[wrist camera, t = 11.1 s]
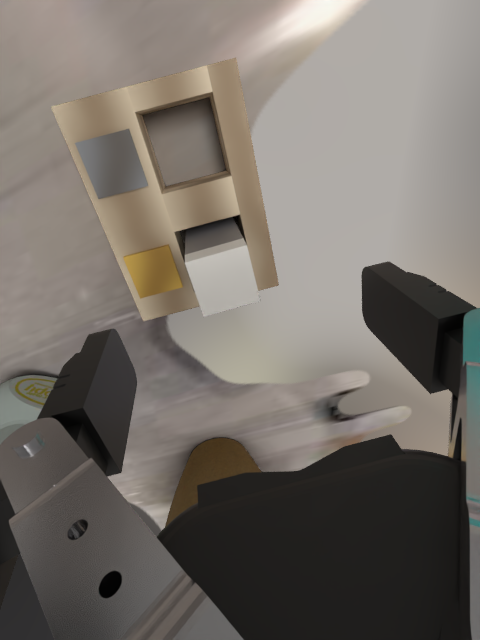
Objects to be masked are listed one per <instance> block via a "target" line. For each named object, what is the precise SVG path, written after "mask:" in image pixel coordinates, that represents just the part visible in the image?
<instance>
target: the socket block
mask: <svg viewBox="0 0 480 640" xmlns="http://www.w3.org/2000/svg"><path fill="white" fill-rule="evenodd" d="M208 97H210V102H211V106H212V110H213V115H214V119H215V123H216V128H217V132H218V136H219V141H220V145H221V149H222V154H223V158H224V163H225V167H226V171H223V172H219V173H215V174H212V175H208V176H204V177H200V178H197V179H193V180H189V181H185V182H181V183H178V184H174V185H170V186H166V187H165V184H164V181H163V178H162V175H161V172H160V169H159V166H158V163H157V159H156V156H155V153H154V150H153V147H152V144H151V141H150V138H149V134H148V131H147V128H146V125H145V122H144V119H143V116H142V115H144V114H148V113H152V112H155V111H159V110H163V109H167V108H171V107H174V106H178V105H182V104H186V103H189V102H193V101H197V100H201V99H205V98H208ZM51 108H52V111H53V113H54V115H55V118H56V120H57V122H58V125H59V127H60V129H61V132H62V134H63V136H64V139H65V141H66V143H67V146H68V148H69V150H70V153H71V155H72V157H73V159H74V162H75V164H76V166H77V169H78V171H79V173H80V176H81V178H82V180H83V183H84V185H85V187H86V190H87V192H88V194H89V197H90V199H91V201H92V204H93V206H94V208H95V210H96V213H97V215H98V217H99V220H100V222H101V224H102V227H103V229H104V231H105V234H106V236H107V238H108V241H109V243H110V245H111V248H112V250H113V252H114V255H115V257H116V259H117V261H118V264H119V266H120V268H121V271H122V273H123V275H124V278H125V280H126V282H127V285H128V287H129V289H130V292H131V294H132V296H133V299H134V301H135V303H136V306H137V308H138V310H139V313H140V315H141V317H142V319H143V321H146V320H150V319H154V318H158V317H162V316H165V315H169V314H173V313H176V312H180V311H184V310H188V309H192V308H195V307H199V306H200V305H199V303H198V300H197V297H196V294H195V291H194V288H193V285H192V283H191V280H190V277H189V274H188V271H187V268H186V265H185V247H184V244H183V241H182V238H181V234H180V230H184V229H187V228H191V227H195V226H199V225H202V224H206V223H210V222H214V221H218V220H221V219H225V218H229V217H233V216H236V215H237V219H238V223H239V228H240V232H241V235H242V236H243V238H244V240H245V242H246V244H247V248H248V252H249V256H250V260H251V264H252V268H253V272H254V276H255V280H256V284H257V288H258V291H259V290H263V289H267V288H270V287H274V286H278V285H279V284H278V278H277V273H276V268H275V263H274V257H273V252H272V247H271V241H270V236H269V231H268V225H267V220H266V214H265V210H264V204H263V199H262V193H261V188H260V183H259V177H258V172H257V166H256V161H255V156H254V151H253V145H252V140H251V135H250V129H249V124H248V119H247V113H246V108H245V103H244V97H243V92H242V87H241V81H240V76H239V71H238V65H237V60H236V58H233V59H229V60H225V61H222V62H218V63H214V64H210V65H207V66H203V67H199V68H195V69H191V70H188V71H184V72H180V73H176V74H173V75H169V76H165V77H161V78H157V79H154V80H150V81H146V82H142V83H139V84H135V85H131V86H127V87H123V88H120V89H116V90H112V91H108V92H105V93H101V94H97V95H93V96H89V97H86V98H82V99H78V100H74V101H71V102H67V103H63V104H59V105H55V106H52V107H51Z"/></svg>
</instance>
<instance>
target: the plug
mask: <svg viewBox="0 0 480 640" xmlns="http://www.w3.org/2000/svg"><path fill="white" fill-rule="evenodd" d="M185 265H186V268H187V271H188V274H189V277H190V280H191V283H192V285H193V288H194V291H195V294H196V297H197V300H198V303H199V305H200V308H201V311H202V314H203V317H206V316H209V315H213V314H216V313H220V312H223V311H227V310H230V309H234V308H238V307H241V306H244V305H248V304H252V303H255V302H259V301H260V297H259V292H258V288H257V284H256V280H255V276H254V272H253V268H252V264H251V260H250V256H249V252H248V248H247V244H246V242H245V240H244V238H243V236H242V235H241V233H240V231H239V229H238V227H237V225H236V223H235V221H234V219H233V217H229V218H225V219H221V220H218V221H214V222H210V223H206V224H202V225H199V226H195V227H191V228H187V229H186V238H185Z"/></svg>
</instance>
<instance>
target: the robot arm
mask: <svg viewBox="0 0 480 640" xmlns="http://www.w3.org/2000/svg"><path fill="white" fill-rule="evenodd" d="M362 312H363V317H364V321H365V323H366V325H367V327H368V328H369V329H370V330H371V332H373V334H374V335H375V336H376V337H377V338H378V339H379V340H380V341H381V342H382V343H383V344H384V345H385V346H386V347H387V349H389V350H390V352H391V353H392V354H393V355H394V356H395V357H396V358H397V359H398V360H399V361H400V362H401V363H402V364H403V365H404V366H405V367H406V369H407V370H408V371H409V372H410V373H411V374H412V375H413V376H414V377H415V378H416V379H417V380H418V381H419V382H420V383H421V384H422V385H423V387H424V388H425V389H426V390H427V391H428V392H429V393H430V394H431V393H435V392H439V391H443V390H447V389H449V390H450V391H451V392H452V397H451V404H450V424H449V444H448V456H444V455H440V454H437V453H433V452H427V451H421V450H409V449H401V448H400V447H399V445H398V444H397V442H396V441H395V439H394V438H393V436H392V435H387V436H383V437H379V438H375V439H372V440H368V441H364V442H360V443H356V444H352V445H349V446H345V447H343V448H341V449H339V450H337V451H335V452H334V453H332V454H330V455H328V456H326V457H324V458H323V459H321V460H319V461H317V462H315V463H313V464H312V465H310V466H308V467H306V468H304V469H302V470H299V471H292V472H248V473H242V474H238V475H234V476H230V477H227V478H223V479H219V480H215V481H211V482H208V483H204V484H200V485H197V492H198V503H196V504H194V505H192V506H191V507H189V508H188V509H186V510H185V511H183V512H182V513H180V514H179V515H178V516H177V517H176V518H175V519H173V520H172V521H171V522H170V523H169V524H168V525H167V526H166V527H165V528H164V529H163V530H162V531H161V532H160V533H159V535H158V536H157V537H156V536H155V535H154V534H153V532H152V531H151V530H150V529H149V528H148V526H147V525H146V524H145V523H144V521H143V520H142V519H141V518H140V516H139V515H138V514H137V513H136V512H135V510H134V509H133V508H132V507H131V506H130V504H129V503H128V502H127V501H126V499H125V498H124V497H123V496H122V494H121V493H120V492H119V491H118V490H117V488H116V487H115V486H114V485H113V483H112V482H111V481H110V480H109V479H108V477H107V476H111V475H114V474H118V473H121V471H122V466H123V460H124V454H125V449H126V443H127V438H128V432H129V426H130V421H131V415H132V410H133V404H134V398H135V393H136V387H137V379H136V374H135V370H134V367H133V365H132V363H131V361H130V358H129V356H128V354H127V352H126V349H125V347H124V345H123V343H122V340H121V338H120V336H119V334H118V332H117V331H116V330H115V329H109V330H105V331H101V332H97V333H93V334H89V335H88V337H87V339H86V341H85V343H84V345H83V348H82V350H81V352H80V353H76V354H75V355H74V356H73V357H72V358H71V359H70V360H69V361H68V362H67V363H66V364H65V365H64V366H63V368H62V370H61V372H60V374H59V376H58V379H57V380H56V382H55V384H54V386H53V389H52V390H51V392H50V394H49V396H48V398H47V400H46V402H45V404H44V406H43V408H42V410H41V412H40V414H39V416H38V418H37V420H34V421H32V422H29V423H27V424H25V425H23V426H22V427H20V428H18V429H17V430H16V431H14V432H13V433H12V434H10V435H9V436H8V437H7V438H6V439H5V440H4V441H3V442H2V443H1V444H0V608H1V605H2V602H3V599H4V596H5V593H6V590H7V587H8V584H9V581H10V578H11V575H12V572H13V569H14V566H15V563H16V560H17V557H18V554H20V553H21V555H22V558H23V560H24V563H25V566H26V568H27V570H28V573H29V575H30V578H31V581H32V583H33V586H34V588H35V591H36V593H37V596H38V598H39V601H40V604H41V606H42V608H43V611H44V614H45V616H46V619H47V621H48V624H49V626H50V629H51V631H52V633H53V636H54V639H55V640H480V308H476V307H474V306H473V305H471V304H469V303H468V302H466V301H464V300H463V299H461V298H459V297H458V296H456V295H454V294H453V293H451V292H449V291H446V289H444V288H442V287H441V286H439V285H436V283H434V282H433V281H431V280H429V279H427V278H426V277H424V276H421V275H417V274H413V273H410V272H405V271H403V270H402V269H400V268H399V267H397V266H396V265H394V264H392V263H391V262H385V263H381V264H376V265H372V266H368V267H365V268H364V269H363V271H362Z"/></svg>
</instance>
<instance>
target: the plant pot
mask: <svg viewBox="0 0 480 640" xmlns="http://www.w3.org/2000/svg"><path fill="white" fill-rule="evenodd" d="M248 472H261V471H260V469H259V468H258V466H257V465H256V463H255V462H254V460H253V459H252V457H251V456H250V455H249V453H248V452H247V451H246V449H245V448H244V447H243V446H242V445H241V444H240V443H239V442H237V441H235V440H232V439H228V438H215V439H211V440H208V441H205V442H203V443H201V444H200V445H198V446H197V447H196V448H195V449H194V450H193V452H192V453H191V455H190V457H189V460H188V462H187V464H186V466H185V469H184V471H183V474H182V476H181V479H180V481H179V484H178V487H177V490H176V492H175V495H174V498H173V502H172V505H171V508H170V511H169V515H168V518H167V522H166V526H167V525H168V524H169V523H170V522H171V521H172V520H173V519H175V518H176V517H177V516H178V515H179V514H180V513H182V512H183V511H185V510H186V509H188V508H189V507H191V506H192V505H194V504H196V503H198V492H197V485H200V484H204V483H208V482H211V481H215V480H219V479H223V478H227V477H230V476H234V475H238V474H242V473H248ZM166 526H165V527H166Z"/></svg>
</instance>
